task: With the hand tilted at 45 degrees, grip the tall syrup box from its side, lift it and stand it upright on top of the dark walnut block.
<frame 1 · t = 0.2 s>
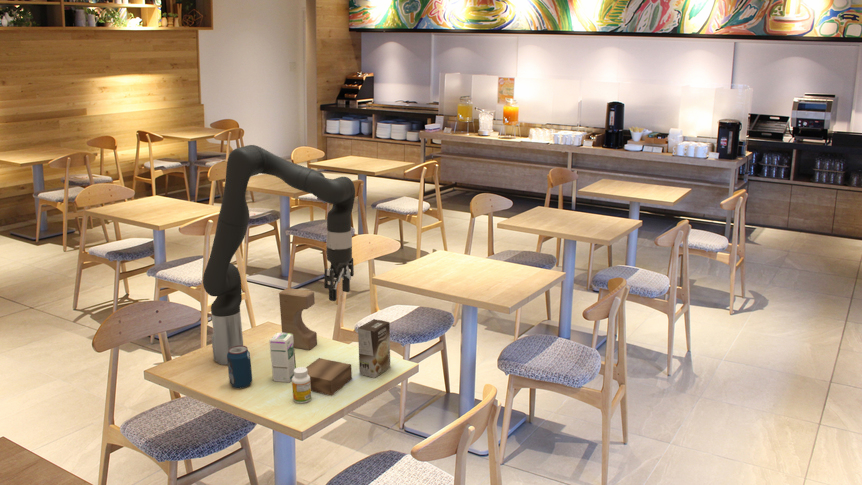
hand: (339, 295, 219), 29 cm above the table, tool pointing down, fingers open, 8 cm apart
coffee box: (375, 371, 234), on the table
syrup box: (284, 378, 230), on the table
supplement bottle: (302, 400, 216), on the table
walnut block: (325, 383, 226), on the table
soda can: (241, 384, 226), on the table
decorative block: (300, 345, 254), on the table
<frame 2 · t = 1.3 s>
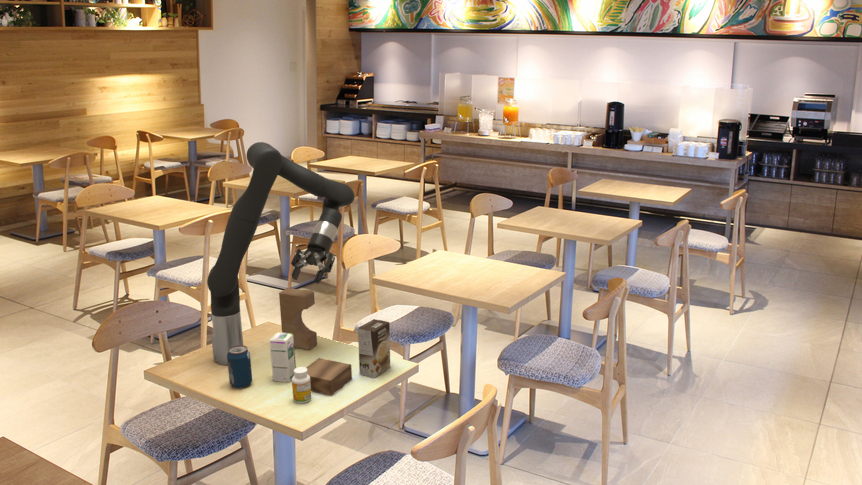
hand: (305, 280, 234), 28 cm above the table, tool tilted 45°, fingers open, 8 cm apart
nothing on the table moved.
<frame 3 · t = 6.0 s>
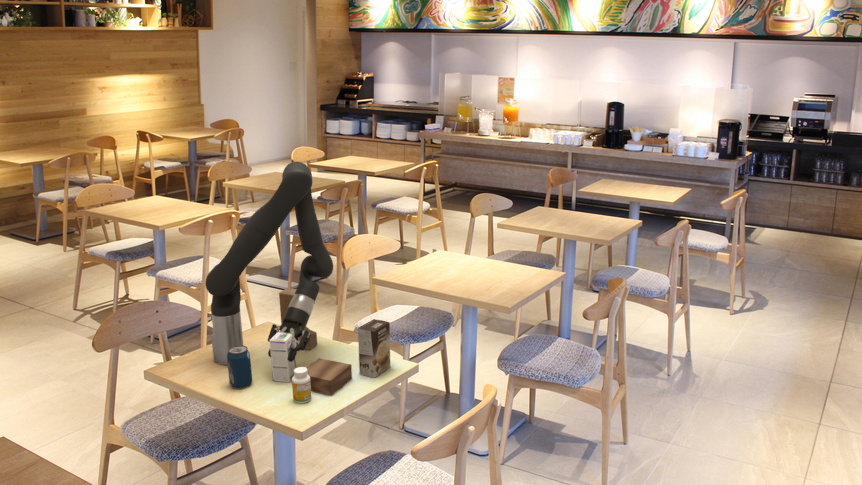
hand: (280, 358, 226), 7 cm above the table, tool tilted 45°, fingers closed on syrup box, 6 cm apart
syrup box: (284, 378, 230), on the table, touching gripper
everything else where it was.
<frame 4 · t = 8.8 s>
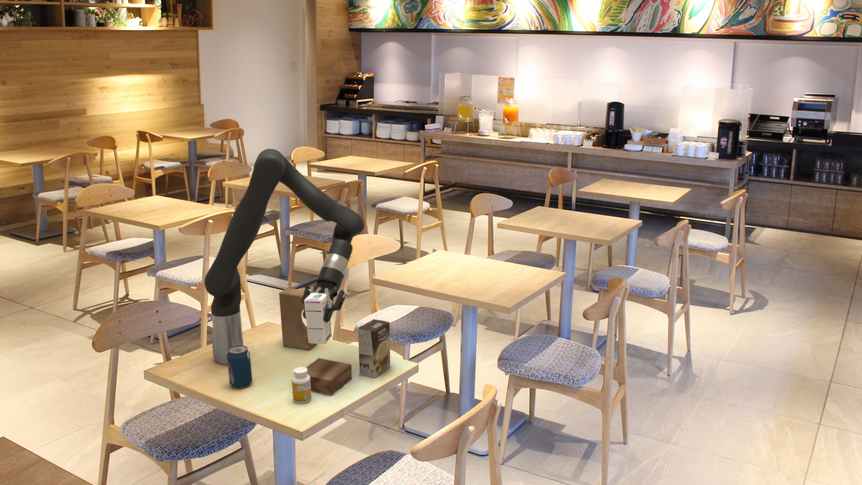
hand: (315, 319, 219), 22 cm above the table, tool tilted 45°, fingers closed on syrup box, 6 cm apart
syrup box: (320, 340, 223), point 14 cm above the table, touching gripper
everything else where it was.
when the fingers open (14 cm above the table, at t = 11.7 s): syrup box drops 1 cm, resting on walnut block.
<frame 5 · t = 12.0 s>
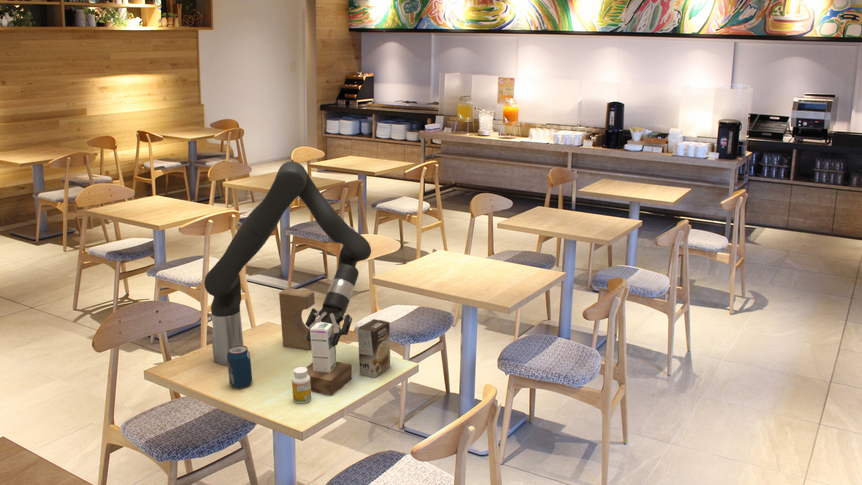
hand: (320, 343, 221), 14 cm above the table, tool tilted 45°, fingers open, 8 cm apart
syrup box: (324, 369, 225), point 5 cm above the table, touching walnut block
everything else where it was.
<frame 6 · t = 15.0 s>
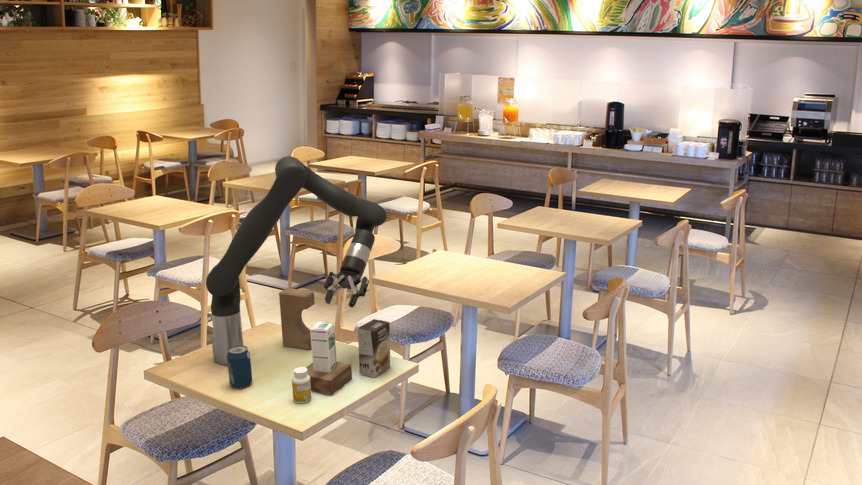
hand: (338, 304, 228), 23 cm above the table, tool tilted 45°, fingers open, 8 cm apart
nothing on the table moved.
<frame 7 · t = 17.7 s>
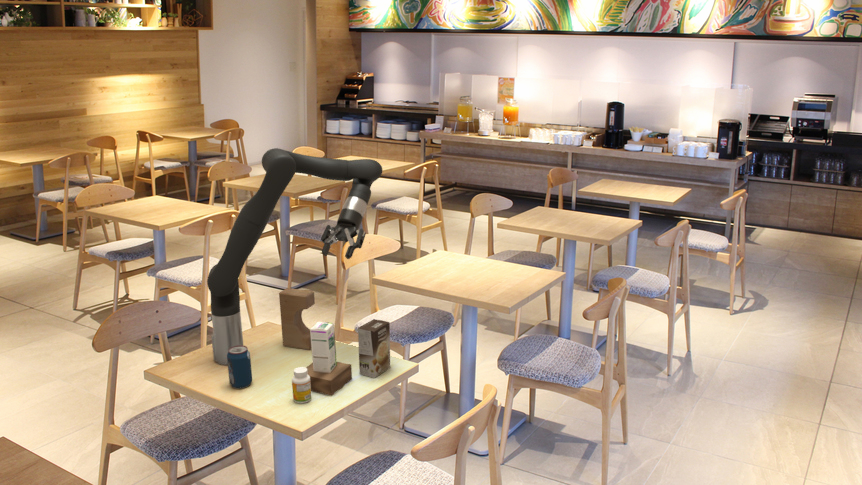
hand: (335, 256, 231), 37 cm above the table, tool tilted 45°, fingers open, 8 cm apart
nothing on the table moved.
at the end: syrup box inside the target area on the walnut block (0.3 cm from its centre), point 4.8 cm above the walnut block's base; syrup box tilted 0°; the gripper is holding nothing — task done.
